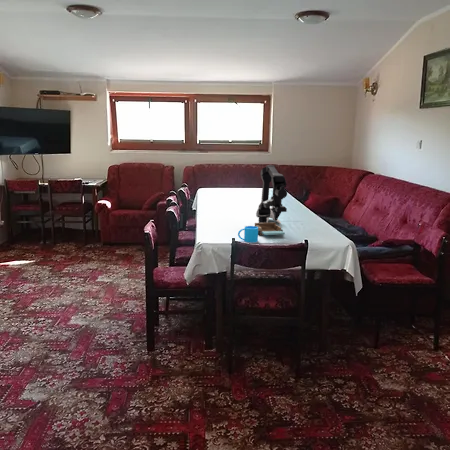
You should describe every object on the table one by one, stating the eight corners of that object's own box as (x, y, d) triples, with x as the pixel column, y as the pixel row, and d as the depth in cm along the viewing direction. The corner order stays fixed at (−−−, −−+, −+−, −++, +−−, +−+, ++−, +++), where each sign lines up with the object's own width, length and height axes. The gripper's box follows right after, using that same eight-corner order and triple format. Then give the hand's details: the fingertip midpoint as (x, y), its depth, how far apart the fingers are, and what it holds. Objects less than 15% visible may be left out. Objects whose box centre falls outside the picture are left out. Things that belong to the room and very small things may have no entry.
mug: (256, 239, 252) (257, 225, 250) (258, 242, 244) (259, 229, 242) (236, 239, 251) (237, 225, 249) (238, 242, 243) (239, 228, 241)
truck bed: (252, 231, 272) (253, 222, 271) (276, 230, 276) (276, 222, 275) (258, 235, 261) (259, 226, 259) (283, 234, 265) (283, 226, 264)
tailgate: (260, 231, 260) (264, 233, 254) (281, 230, 264) (285, 232, 258) (260, 233, 261) (264, 235, 254) (281, 232, 264) (285, 234, 258)
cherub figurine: (275, 205, 312) (284, 207, 292) (274, 221, 313) (283, 224, 294) (258, 204, 309) (266, 206, 290) (257, 221, 311) (265, 224, 291)
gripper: (259, 193, 261) (258, 217, 265) (270, 198, 244) (268, 224, 248) (276, 193, 264) (274, 216, 268) (287, 198, 247) (286, 223, 250)
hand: (275, 220), depth 258 cm, fingers closed
